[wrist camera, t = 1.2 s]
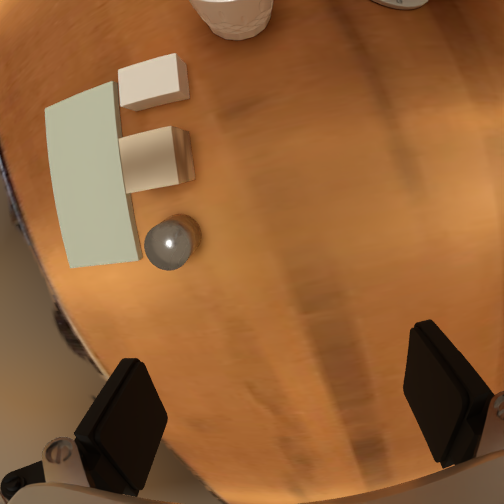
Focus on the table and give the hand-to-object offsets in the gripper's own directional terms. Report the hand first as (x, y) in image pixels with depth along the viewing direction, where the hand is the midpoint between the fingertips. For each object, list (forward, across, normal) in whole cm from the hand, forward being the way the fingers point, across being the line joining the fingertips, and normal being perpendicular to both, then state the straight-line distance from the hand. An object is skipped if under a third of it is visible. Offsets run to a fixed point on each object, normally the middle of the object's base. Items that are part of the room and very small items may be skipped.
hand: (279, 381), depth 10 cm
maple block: (+23, +9, -9) cm, 26 cm away
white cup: (+23, 0, -24) cm, 33 cm away
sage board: (+23, +19, -10) cm, 31 cm away
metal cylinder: (+23, +10, -1) cm, 25 cm away
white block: (+23, +9, -17) cm, 30 cm away
